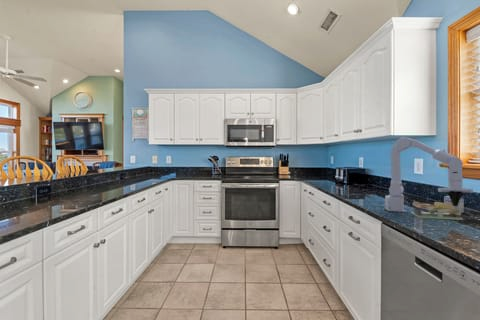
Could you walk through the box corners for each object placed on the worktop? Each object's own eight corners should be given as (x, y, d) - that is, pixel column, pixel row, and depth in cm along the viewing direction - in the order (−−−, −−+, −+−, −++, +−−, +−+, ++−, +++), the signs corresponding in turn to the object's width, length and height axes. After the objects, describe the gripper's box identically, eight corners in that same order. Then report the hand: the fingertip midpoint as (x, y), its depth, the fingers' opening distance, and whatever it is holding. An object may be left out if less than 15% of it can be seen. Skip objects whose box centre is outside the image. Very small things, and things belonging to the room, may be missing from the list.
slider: (437, 208, 133) (439, 203, 133) (433, 206, 138) (434, 201, 138) (451, 211, 131) (452, 205, 131) (446, 209, 136) (447, 204, 136)
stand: (418, 217, 133) (418, 209, 133) (411, 213, 144) (411, 205, 143) (463, 220, 127) (463, 211, 127) (452, 214, 138) (452, 206, 138)
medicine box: (443, 210, 148) (443, 196, 147) (447, 210, 150) (447, 195, 150) (460, 213, 141) (460, 198, 140) (463, 212, 143) (464, 197, 142)
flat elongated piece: (418, 208, 134) (419, 204, 134) (412, 205, 142) (413, 201, 142) (460, 215, 129) (461, 211, 128) (452, 211, 137) (452, 208, 137)
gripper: (442, 180, 131) (442, 206, 131) (476, 181, 127) (476, 207, 127) (436, 179, 137) (436, 204, 138) (468, 179, 133) (468, 205, 134)
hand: (455, 205), depth 133 cm, fingers closed
